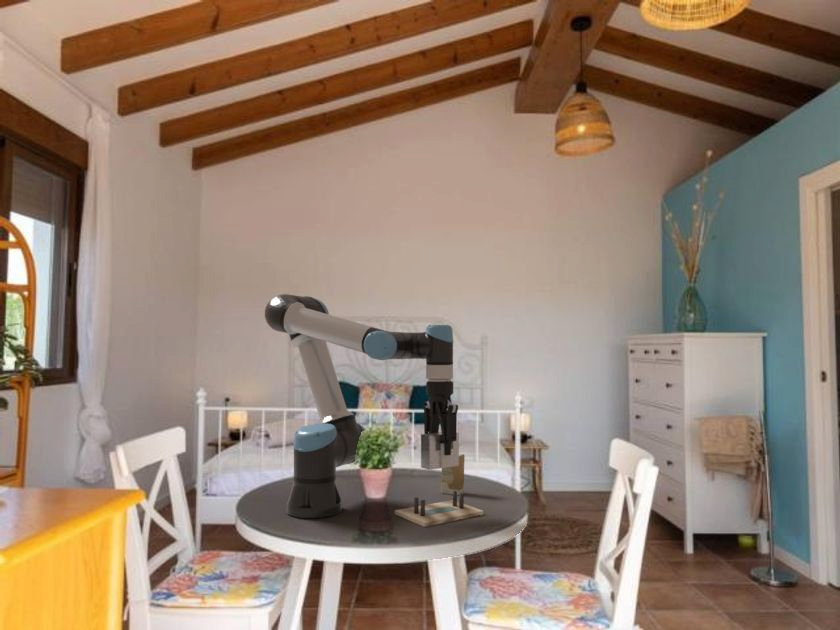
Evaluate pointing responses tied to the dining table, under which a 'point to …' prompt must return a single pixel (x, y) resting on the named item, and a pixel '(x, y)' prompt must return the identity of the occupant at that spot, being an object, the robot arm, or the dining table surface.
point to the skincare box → (453, 478)
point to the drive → (437, 451)
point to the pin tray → (439, 511)
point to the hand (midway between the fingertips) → (440, 465)
